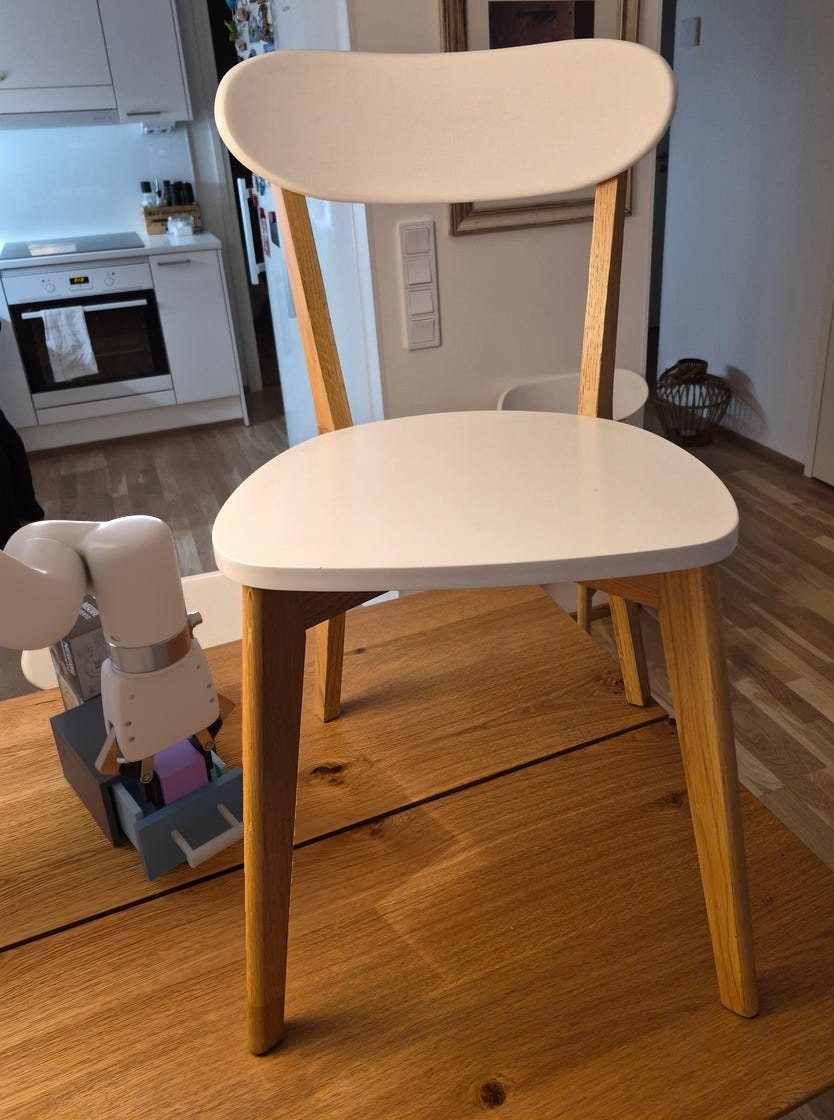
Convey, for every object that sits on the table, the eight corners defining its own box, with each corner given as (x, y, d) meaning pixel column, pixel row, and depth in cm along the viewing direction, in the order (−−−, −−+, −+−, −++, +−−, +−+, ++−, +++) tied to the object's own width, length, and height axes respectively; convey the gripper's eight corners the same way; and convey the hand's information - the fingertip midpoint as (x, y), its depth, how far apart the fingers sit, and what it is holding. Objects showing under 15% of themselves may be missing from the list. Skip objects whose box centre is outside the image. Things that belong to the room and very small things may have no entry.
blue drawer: (277, 848, 89) (269, 798, 86) (173, 914, 82) (161, 861, 79) (194, 759, 101) (185, 712, 98) (97, 809, 94) (85, 761, 91)
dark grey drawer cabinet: (222, 787, 98) (212, 727, 95) (114, 847, 90) (98, 784, 87) (167, 727, 108) (155, 671, 104) (64, 777, 100) (48, 718, 97)
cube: (169, 814, 86) (162, 779, 84) (150, 790, 89) (142, 756, 87) (210, 791, 89) (204, 757, 87) (190, 769, 92) (184, 735, 90)
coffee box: (145, 725, 108) (122, 617, 102) (95, 751, 104) (68, 640, 98) (112, 695, 114) (88, 591, 108) (63, 718, 110) (36, 611, 103)
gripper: (212, 595, 89) (235, 734, 97) (44, 662, 79) (83, 813, 86) (248, 623, 84) (269, 767, 92) (74, 699, 74) (113, 855, 81)
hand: (179, 788), depth 89 cm, fingers closed on cube, 4 cm apart
